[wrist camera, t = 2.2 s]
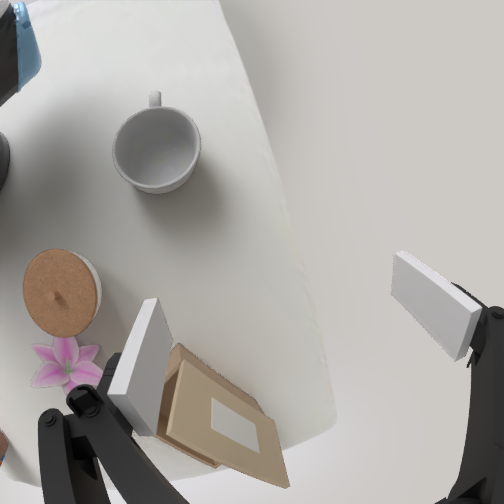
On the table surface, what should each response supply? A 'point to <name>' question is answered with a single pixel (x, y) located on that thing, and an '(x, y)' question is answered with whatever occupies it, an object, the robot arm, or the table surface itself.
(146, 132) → the teacup
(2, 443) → the coffee cup
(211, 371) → the mailer box
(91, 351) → the lily
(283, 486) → the lid
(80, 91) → the table surface
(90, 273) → the lidded jar
